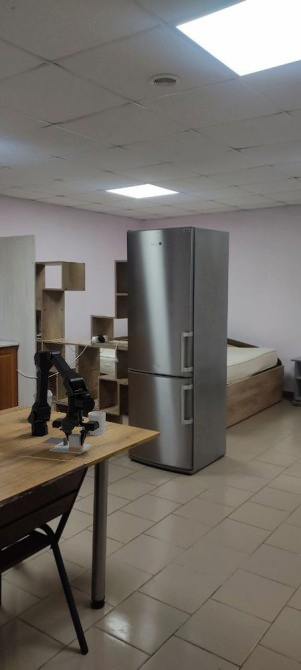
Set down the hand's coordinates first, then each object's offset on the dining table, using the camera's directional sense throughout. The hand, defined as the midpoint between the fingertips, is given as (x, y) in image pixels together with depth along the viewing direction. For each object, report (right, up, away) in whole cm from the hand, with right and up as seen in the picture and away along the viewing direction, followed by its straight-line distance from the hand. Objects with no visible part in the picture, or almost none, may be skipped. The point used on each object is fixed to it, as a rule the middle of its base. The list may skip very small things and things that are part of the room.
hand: (76, 445), depth 205 cm
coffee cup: (-23, +1, +49) cm, 54 cm away
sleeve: (0, -2, 0) cm, 2 cm away
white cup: (+6, -1, +23) cm, 24 cm away
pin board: (-3, -3, +3) cm, 5 cm away
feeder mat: (-11, -2, +14) cm, 18 cm away
